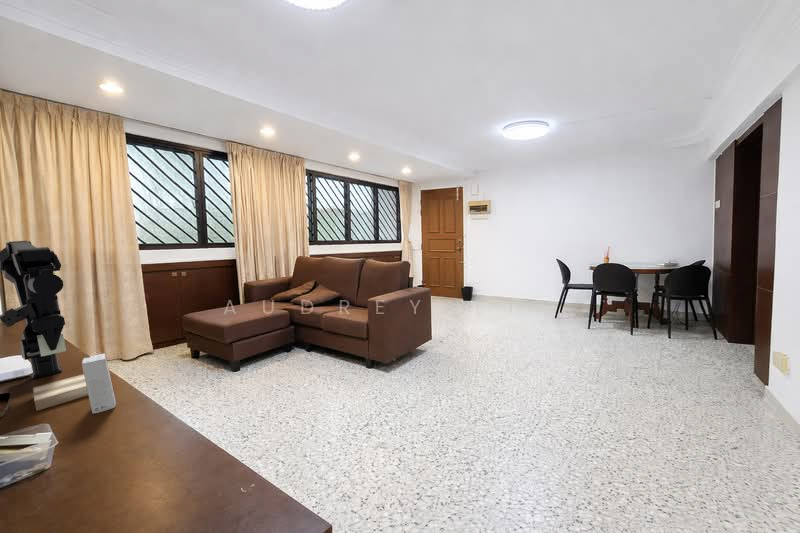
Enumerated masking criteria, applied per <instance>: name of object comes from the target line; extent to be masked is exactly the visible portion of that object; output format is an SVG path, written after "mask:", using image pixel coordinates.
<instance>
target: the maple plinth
mask: <svg viewBox="0 0 800 533" xmlns="http://www.w3.org/2000/svg"><path fill="white" fill-rule="evenodd" d="M32 390H33V391H32V392H33V402H34V406H35V409H36V410H35V411H40V410H43V409H44V410H45V409H47V408H50V407H54V406H57V405H61V404H63V403H68V402H70V401H71V402H72V401H74V400H76V399H80V398H84V397H86V396H88V391H87V386H86V382H85V377H84V373H82V374H79V375H75V376H71V377H68V378H67V377H66V378H63V379H59V380H56V381H53V382H49V383H45V384H41V385H37V386H34V387H33V388H32Z"/></svg>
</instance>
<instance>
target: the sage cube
mask: <svg viewBox="0 0 800 533" xmlns="http://www.w3.org/2000/svg"><path fill="white" fill-rule="evenodd" d="M37 339H38V344H39V348H40V353H41V357H42V356H46V355H50V354H55V353H56V354H59V353H62V352H63V353H64V352H67V349H66V344H65V343H66V342H65V337H64V333H63V331H62V332H61V335H60V338H59V341H58V345H57V348H56V350H52V351H51V350H50V349H49V347H48V345H47V343H46V341H45V339H44V337H43V335H38V336H37Z"/></svg>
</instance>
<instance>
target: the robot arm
mask: <svg viewBox="0 0 800 533" xmlns="http://www.w3.org/2000/svg"><path fill="white" fill-rule="evenodd" d="M61 269H62V264H61V261H60V259H59V257H58V254H56V253H55V251H53V250H51V249H50V247H48V246H43V247H42V246H41V247H37V246H35V245H33V244H32V243H31V241H30V240H29V241H28V240H15V241H9V242H5V247H4V248H3V249H2V250H0V272H2V273H3V277H4V278H5V279H6V280H7V281H9V282H11V283H12V284H13V285H14V288H15V291H16V296H17V299H18V302H19V305H20V306H19V307H16V308H10V309H8V310H4V313H2V314H0V321H1V322H2V323H3V325H4V326H5V327H6V328H11V327H12V326H15V324H17V323H19V322H22V321H24V322H25V327H24V330H23V331H22V336H21V339H20V341H19V342H20V344H19V346H20V350H19V351H20V354H21V358H22V359H23V360H25V361H26V360H30V366H31V369H32V370H31V371H32V372H31V380H34V379H39V378H43V377H47V376H51V375H54V374H58V373H62V370H63V369H62V366H61V365H60V364H59V361H58V356H57V353H55V354H50V355H46V356H42V357H41V353H40V348H39V344H38V339H37V336H38V335H43V337H44V339H45V341H46V343H47V345H48V347H49V349H50V350H51V351H52V350H56V348H57V345H58V341H59V338H60V335H61V332H62V333H63V329H64V327H65V325H66V322H65V317H64V316H63V315H61V310H60V306H59V298H58V295H57V294H58V293H59V292H61V291H62V289H63V288H64V281H63V279H62V278H61V277H60V276H59V275H57V274H54V272H59V271H61Z"/></svg>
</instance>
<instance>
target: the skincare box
mask: <svg viewBox="0 0 800 533" xmlns="http://www.w3.org/2000/svg"><path fill="white" fill-rule="evenodd" d="M81 367H82V371H83V373H82V374H84V377H85V382H86V386H87V391H88V395H87V396H88V401H89V404H90V409H91V413H92V414H99V413H102V412H106V411H108V410H112V409H115V407H116V405H117V404H116V396H115V393H114V389H113V388H114V387H113V383H112V379H111V372H110V370H109V365H108V362H107V356H106V352H105V353H99V354H96V355H95V354H94V355H92V356H91V355H90V356H87V357H83V359H82V361H81Z"/></svg>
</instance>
